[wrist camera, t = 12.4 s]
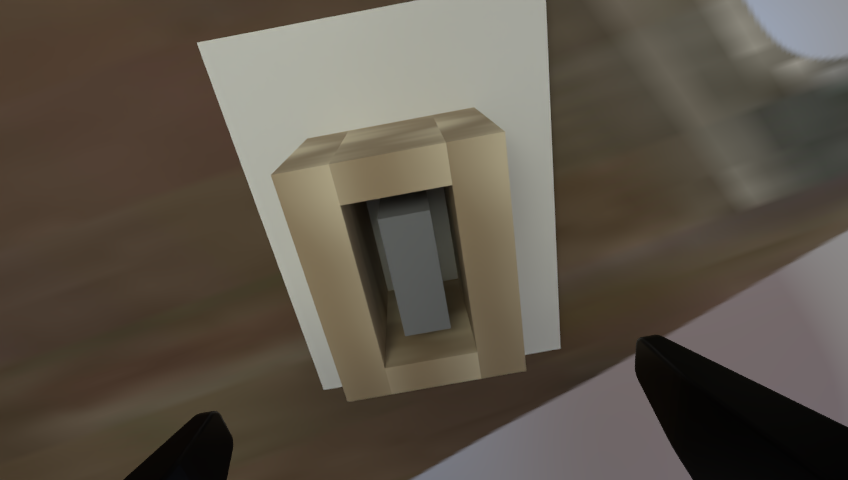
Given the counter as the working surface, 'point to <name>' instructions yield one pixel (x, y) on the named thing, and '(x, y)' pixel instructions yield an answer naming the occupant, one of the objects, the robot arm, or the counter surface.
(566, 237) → the counter surface
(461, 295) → the beige open box
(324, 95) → the post stand
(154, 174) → the counter surface
